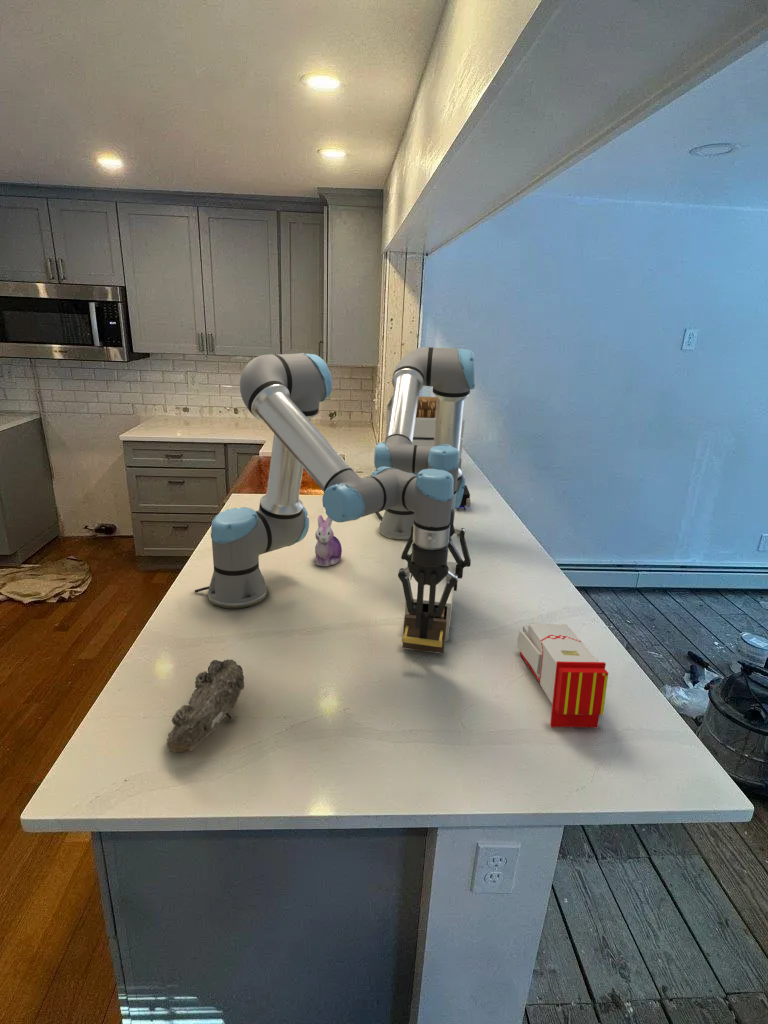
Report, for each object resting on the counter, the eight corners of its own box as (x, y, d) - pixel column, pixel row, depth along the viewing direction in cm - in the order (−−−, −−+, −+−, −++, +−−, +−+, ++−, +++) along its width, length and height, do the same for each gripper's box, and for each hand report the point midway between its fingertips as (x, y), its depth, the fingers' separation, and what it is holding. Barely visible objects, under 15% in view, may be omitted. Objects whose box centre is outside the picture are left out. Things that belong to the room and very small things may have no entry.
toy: (562, 608, 134) (617, 669, 105) (557, 660, 137) (609, 734, 107) (511, 607, 134) (552, 667, 104) (507, 659, 136) (545, 733, 107)
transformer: (382, 463, 289) (386, 382, 275) (445, 464, 293) (451, 384, 279) (390, 482, 257) (394, 392, 243) (460, 483, 261) (468, 394, 247)
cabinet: (447, 640, 137) (451, 603, 133) (403, 635, 138) (406, 598, 134) (453, 596, 156) (456, 562, 152) (414, 591, 157) (416, 557, 153)
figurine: (319, 569, 170) (319, 523, 165) (307, 556, 178) (307, 511, 173) (348, 564, 174) (349, 519, 169) (335, 552, 182) (336, 508, 177)
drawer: (441, 669, 125) (444, 637, 122) (398, 663, 126) (400, 631, 123) (449, 607, 149) (452, 579, 145) (413, 603, 150) (415, 574, 147)
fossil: (192, 660, 117) (244, 628, 112) (224, 691, 120) (276, 661, 115) (142, 746, 98) (202, 712, 93) (182, 779, 101) (242, 748, 96)
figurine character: (470, 515, 225) (465, 499, 238) (472, 498, 221) (467, 483, 235) (453, 515, 224) (449, 499, 238) (455, 497, 221) (451, 482, 234)
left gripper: (397, 547, 116) (391, 646, 124) (461, 554, 114) (451, 654, 122) (402, 533, 123) (396, 628, 131) (462, 540, 121) (453, 635, 129)
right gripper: (392, 508, 142) (388, 587, 149) (486, 517, 138) (477, 597, 145) (397, 499, 149) (392, 575, 156) (486, 507, 145) (478, 585, 152)
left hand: (422, 640), depth 126 cm, fingers closed
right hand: (433, 586), depth 151 cm, fingers closed on cabinet, 11 cm apart
